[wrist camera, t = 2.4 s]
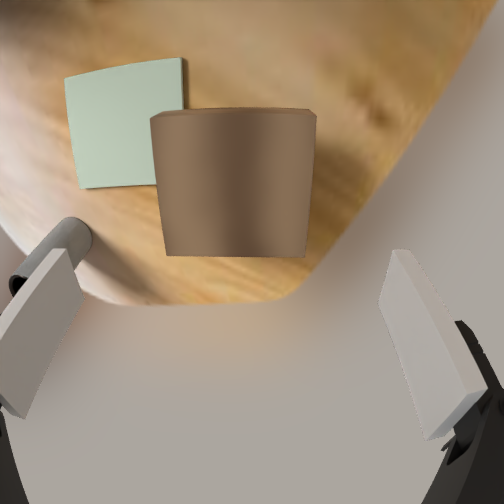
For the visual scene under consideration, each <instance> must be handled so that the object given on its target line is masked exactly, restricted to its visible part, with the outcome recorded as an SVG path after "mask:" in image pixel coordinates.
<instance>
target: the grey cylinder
mask: <svg viewBox="0 0 504 504" xmlns="http://www.w3.org/2000/svg"><path fill="white" fill-rule="evenodd" d="M91 245H92V236H91V233H90V230H89V229H88V227H87V226H86V225H85V224H84V223H83V222H82V221H81V220H79V219H77V218H73V217H68V218H65V219H63V220H62V221H61V222H60V223H59V224H58V225H57V226H56V227H55V228H54V229H53V230H52V231H51V232H50V233H49V234H48V235H47V236H46V237H45V238H44V239H43V240H42V241H41V243H40V244H39V245H38V246H37V247H36V248H35V249H34V250H33V251H32V252H31V254H30V255H29V256H28V257H27V258H26V259H25V261H24V262H23V263H22V264H21V265H20V266H19V267H18V269H17V270H16V271H15V272H14V274H13V275H12V276H11V277H10V279H9V289H10V292H11V294H12V296H13V298H14V296H15V295H16V294H17V292H18V291H19V290H20V288H21V287H22V286H23V285H24V283H25V282H26V281H27V279H28V278H29V277H30V276H31V274H32V273H33V272H34V271H35V269H36V268H37V267H38V266H39V265H40V263H41V262H42V261H43V260H44V259H45V257H46V256H47V255H48V254H49V253H50V251H51V250H52V249H67V252H68V255H69V258H70V261H71V263H72V266H73V269H74V270H75V269H76V267H77V266H78V264H79V263H80V262H81V260H82V259H83V257H84V256H85V255H86V253H87V252H88V250H89V249H90V247H91Z"/></svg>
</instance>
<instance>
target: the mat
mask: <svg viewBox="0 0 504 504" xmlns="http://www.w3.org/2000/svg"><path fill="white" fill-rule="evenodd" d="M64 85H65V96H66V106H67V115H68V123H69V130H70V137H71V143H72V150H73V156H74V161H75V167H76V172H77V177H78V182H79V187H80V189H86V188H99V187H113V186H130V185H150V184H156V178H155V170H154V160H153V151H152V141H151V130H150V118H151V117H153V116H155V115H157V114H158V113H160V112H162V111H171V110H184V99H183V73H182V57H179V58H169V59H161V60H153V61H146V62H139V63H133V64H127V65H121V66H116V67H111V68H106V69H101V70H96V71H92V72H88V73H83V74H79V75H75V76H71V77H68V78H64Z"/></svg>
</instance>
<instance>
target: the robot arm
mask: <svg viewBox="0 0 504 504" xmlns="http://www.w3.org/2000/svg"><path fill="white" fill-rule="evenodd" d="M84 299H85V298H84V296H83V293H82V291H81V288H80V286H79V283H78V280H77V277H76V275H75V272H74V269H73V266H72V263H71V261H70V258H69V255H68V252H67V249H52V250H51V251H50V253H49V254H48V255H47V256H46V257H45V259H44V260H43V261H42V262H41V263H40V265H39V266H38V267H37V268H36V269H35V271H34V272H33V273H32V274H31V276H30V277H29V278H28V279H27V281H26V282H25V283H24V285H23V286H22V287H21V288H20V290H19V291H18V292H17V294H16V295H15V296H14V298H13V299H12V301H11V302H10V303H9V305H8V306H7V307H6V309H5V310H4V312H2V313H1V314H0V409H1V406H3V407H4V408H5V409H6V410H7V411H8V412H9V413H10V414H12V415H14V416H17V417H19V418H22V419H25V418H26V416H27V413H28V411H29V408H30V406H31V404H32V402H33V399H34V397H35V395H36V392H37V390H38V388H39V386H40V384H41V382H42V380H43V377H44V375H45V373H46V371H47V369H48V367H49V365H50V363H51V361H52V359H53V357H54V355H55V353H56V351H57V349H58V347H59V345H60V343H61V341H62V339H63V337H64V336H65V334H66V332H67V330H68V328H69V326H70V324H71V323H72V320H73V319H74V317H75V315H76V314H77V312H78V310H79V308H80V307H81V305H82V303H83V301H84ZM378 306H379V308H380V311H381V313H382V315H383V318H384V321H385V323H386V325H387V328H388V331H389V334H390V336H391V339H392V342H393V344H394V347H395V350H396V353H397V355H398V358H399V361H400V364H401V367H402V370H403V372H404V375H405V378H406V381H407V384H408V387H409V390H410V393H411V397H412V399H413V403H414V406H415V409H416V412H417V416H418V419H419V422H420V426H421V429H422V433H423V436H424V440H425V441H428V440H432V439H435V438H439V437H443V436H445V435H446V434H447V433H448V432H449V431H450V430H451V429H452V428H454V431H455V434H456V435H455V436H454V437H453V438H452V439H450V440H449V441H448V442H447V443H446V444H445V445H444V446H443V448H442V449H441V451H444V450H445V449H447V448H448V450H447V452H446V455H445V457H444V459H443V462H442V464H441V466H440V468H439V470H438V472H437V474H436V476H435V479H434V481H433V483H432V485H431V486H430V489H429V490H428V492H427V494H426V496H425V498H424V500H423V502H422V503H421V504H504V389H503V388H502V387H501V385H500V383H499V381H498V379H497V377H496V375H495V373H494V370H493V369H492V367H491V365H490V363H489V361H488V359H487V357H486V355H485V354H484V353H483V349H482V347H481V346H480V344H478V340H477V338H476V337H475V335H474V333H473V331H472V330H471V329H470V328H469V327H468V326H467V325H466V324H465V323H464V322H463V321H462V320H461V321H454V320H453V319H452V317H451V315H450V313H449V312H448V310H447V309H446V306H445V305H444V303H443V301H442V300H441V298H440V296H439V295H438V293H437V291H436V290H435V288H434V286H433V285H432V283H431V282H430V280H429V279H428V277H427V275H426V274H425V272H424V271H423V269H422V268H421V266H420V264H419V263H418V262H417V260H416V258H415V257H414V256H413V254H412V252H411V251H410V250H401V249H399V250H397V249H396V250H395V249H393V250H392V254H391V258H390V262H389V266H388V270H387V273H386V277H385V280H384V284H383V287H382V290H381V294H380V297H379V301H378ZM0 504H29V502H28V500H27V497H26V494H25V491H24V488H23V486H22V483H21V480H20V477H19V473H18V470H17V467H16V464H15V460H14V457H13V453H12V449H11V446H10V441H9V437H8V433H7V429H6V424H5V419H4V416H3V413H2V412H1V411H0Z"/></svg>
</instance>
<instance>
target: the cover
mask: <svg viewBox="0 0 504 504" xmlns="http://www.w3.org/2000/svg"><path fill="white" fill-rule="evenodd" d="M316 118H317V116H316V115H315V114H314V113H313V112H312V111H310V110H309V109H294V108H258V107H238V108H203V109H185V110H171V111H162V112H160V113H158V114H157V115H155V116H153V117H151V118H150V130H151V141H152V151H153V160H154V170H155V178H156V186H157V194H158V202H159V209H160V216H161V223H162V230H163V236H164V243H165V249H166V255H167V256H208V257H305V252H306V242H307V233H308V223H309V212H310V201H311V190H312V178H313V165H314V151H315V135H316Z"/></svg>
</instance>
